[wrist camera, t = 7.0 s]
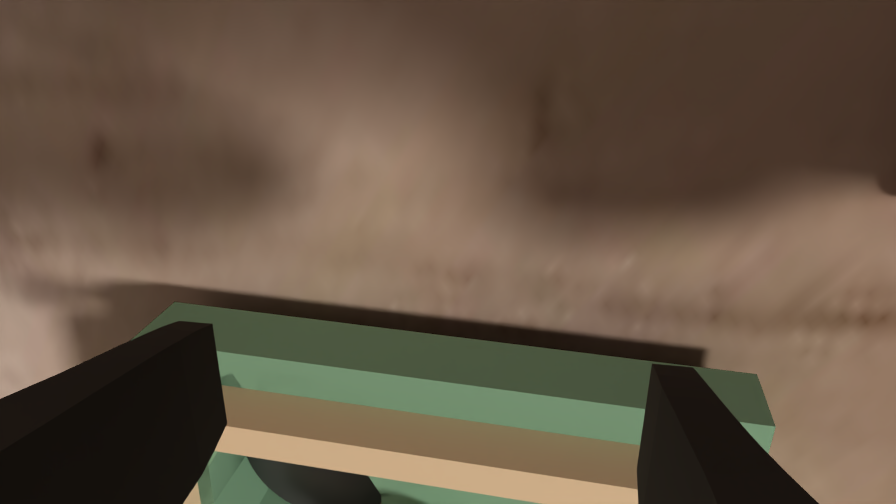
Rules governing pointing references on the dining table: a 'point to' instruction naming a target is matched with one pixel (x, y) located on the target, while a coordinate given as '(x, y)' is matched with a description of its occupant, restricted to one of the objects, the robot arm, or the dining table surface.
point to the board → (426, 416)
